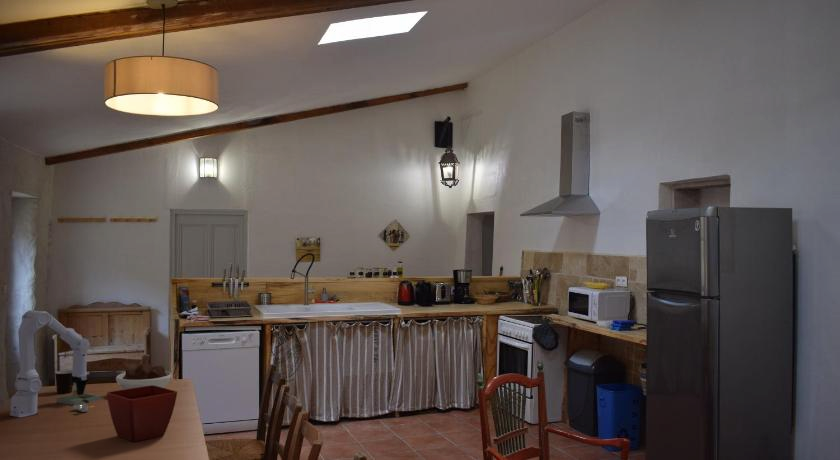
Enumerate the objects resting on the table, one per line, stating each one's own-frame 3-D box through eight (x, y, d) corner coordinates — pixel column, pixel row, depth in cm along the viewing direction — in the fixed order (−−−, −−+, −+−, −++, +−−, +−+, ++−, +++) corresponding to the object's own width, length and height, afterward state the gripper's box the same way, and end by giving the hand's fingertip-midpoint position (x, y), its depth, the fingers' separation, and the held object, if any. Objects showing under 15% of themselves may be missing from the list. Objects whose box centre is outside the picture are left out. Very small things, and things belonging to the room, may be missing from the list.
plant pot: (152, 426, 268) (152, 384, 269) (177, 435, 256) (178, 391, 257) (104, 436, 254) (105, 392, 254) (129, 446, 241) (130, 400, 242)
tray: (74, 407, 297) (75, 401, 297) (56, 403, 303) (56, 398, 303) (100, 401, 309) (100, 395, 309) (82, 397, 315) (82, 392, 315)
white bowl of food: (115, 391, 329) (116, 360, 330) (169, 387, 340) (169, 357, 340) (115, 402, 307) (116, 369, 307) (173, 397, 317) (173, 366, 318)
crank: (71, 409, 289) (72, 397, 289) (80, 408, 292) (80, 395, 292) (83, 413, 282) (83, 401, 283) (92, 412, 285) (92, 399, 285)
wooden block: (75, 397, 303) (76, 383, 303) (73, 395, 306) (73, 382, 306) (85, 395, 306) (85, 382, 306) (82, 394, 309) (83, 381, 309)
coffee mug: (68, 394, 321) (68, 373, 321) (50, 394, 321) (51, 373, 322) (81, 389, 333) (81, 369, 333) (64, 389, 333) (64, 369, 333)
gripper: (93, 365, 304) (93, 394, 303) (84, 360, 314) (83, 389, 314) (77, 366, 299) (76, 397, 299) (67, 362, 309) (67, 391, 309)
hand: (79, 393), depth 306 cm, fingers closed on wooden block, 4 cm apart
